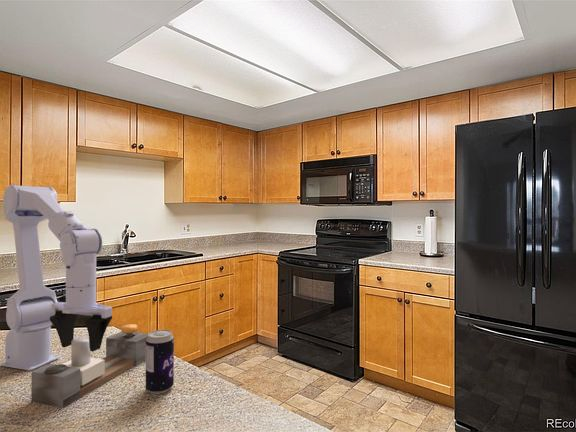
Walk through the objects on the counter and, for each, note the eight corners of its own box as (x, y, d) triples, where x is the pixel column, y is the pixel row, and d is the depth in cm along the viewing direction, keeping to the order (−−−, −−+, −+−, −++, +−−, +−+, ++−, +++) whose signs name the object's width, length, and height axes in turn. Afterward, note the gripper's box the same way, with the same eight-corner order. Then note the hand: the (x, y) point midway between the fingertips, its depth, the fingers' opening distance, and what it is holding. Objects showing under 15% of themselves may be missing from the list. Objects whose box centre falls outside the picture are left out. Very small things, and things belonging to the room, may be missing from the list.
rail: (29, 401, 72) (29, 369, 72) (123, 352, 97) (123, 329, 97) (65, 408, 70) (65, 375, 69) (151, 356, 94) (151, 332, 94)
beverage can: (164, 397, 74) (165, 339, 74) (139, 394, 75) (140, 336, 75) (178, 384, 80) (178, 330, 80) (155, 381, 81) (155, 328, 81)
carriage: (55, 380, 77) (56, 343, 76) (79, 369, 82) (79, 334, 82) (82, 385, 75) (82, 347, 75) (104, 373, 80) (104, 337, 80)
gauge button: (118, 339, 92) (118, 327, 92) (128, 334, 95) (128, 323, 95) (130, 341, 91) (130, 329, 91) (140, 336, 94) (140, 324, 94)
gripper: (38, 286, 76) (38, 350, 77) (93, 291, 72) (93, 358, 72) (67, 280, 83) (66, 339, 83) (119, 284, 79) (119, 346, 79)
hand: (81, 347), depth 78 cm, fingers open, 7 cm apart
